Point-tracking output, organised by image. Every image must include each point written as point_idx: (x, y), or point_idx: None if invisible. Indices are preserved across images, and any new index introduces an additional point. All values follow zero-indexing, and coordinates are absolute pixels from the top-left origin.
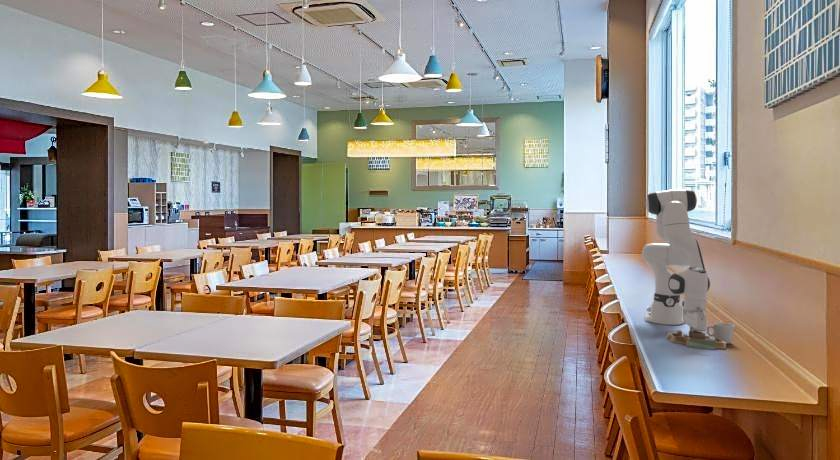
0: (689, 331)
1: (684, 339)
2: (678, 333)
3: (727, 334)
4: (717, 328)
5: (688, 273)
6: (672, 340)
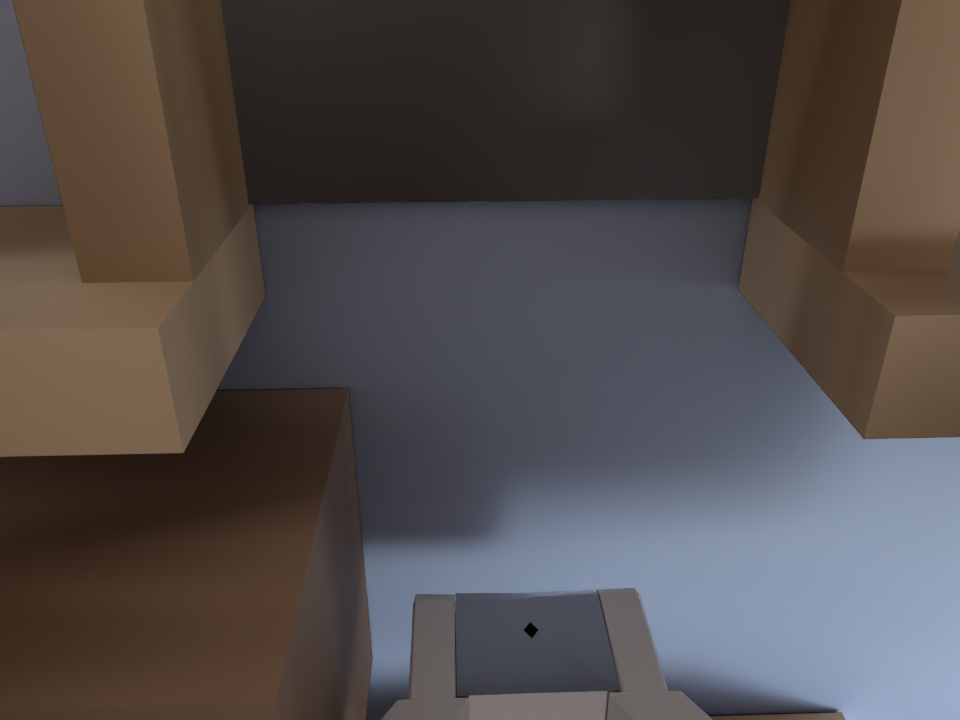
0: (191, 686)
1: (6, 257)
2: (905, 261)
3: None
4: None
5: None
6: None
